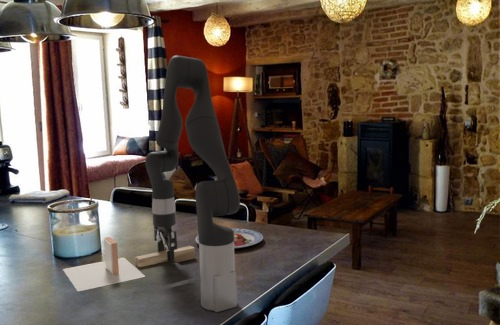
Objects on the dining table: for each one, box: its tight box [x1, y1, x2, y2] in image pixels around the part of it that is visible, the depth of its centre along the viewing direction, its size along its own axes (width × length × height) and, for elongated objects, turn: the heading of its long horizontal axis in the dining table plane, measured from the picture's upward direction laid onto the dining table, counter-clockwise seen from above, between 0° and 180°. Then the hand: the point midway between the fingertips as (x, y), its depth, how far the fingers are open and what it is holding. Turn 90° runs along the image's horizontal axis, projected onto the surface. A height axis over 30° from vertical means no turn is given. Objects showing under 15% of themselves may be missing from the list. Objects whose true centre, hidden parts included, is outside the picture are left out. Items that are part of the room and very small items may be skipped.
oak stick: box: [134, 245, 196, 268], centre depth 160 cm, size 3×20×4 cm, turn 123°
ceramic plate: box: [195, 227, 264, 250], centre depth 182 cm, size 26×26×3 cm
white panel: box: [62, 256, 146, 292], centre depth 149 cm, size 22×20×1 cm
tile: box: [103, 236, 119, 275], centre depth 149 cm, size 8×2×10 cm, turn 32°
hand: (166, 257), depth 160 cm, fingers open, 8 cm apart
